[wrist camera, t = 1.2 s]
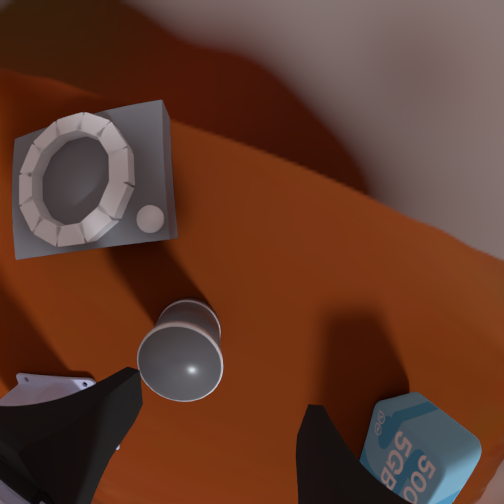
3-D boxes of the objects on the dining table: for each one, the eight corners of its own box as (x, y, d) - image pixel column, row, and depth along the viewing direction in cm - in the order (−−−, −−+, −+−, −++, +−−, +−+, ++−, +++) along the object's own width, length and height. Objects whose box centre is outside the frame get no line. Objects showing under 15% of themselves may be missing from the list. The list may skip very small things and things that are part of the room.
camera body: (40, 255, 19) (4, 261, 14) (37, 149, 18) (4, 134, 14) (177, 238, 20) (166, 239, 16) (169, 119, 20) (158, 90, 15)
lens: (165, 356, 21) (147, 403, 14) (155, 298, 21) (128, 328, 14) (224, 350, 21) (228, 398, 15) (216, 292, 21) (216, 320, 14)
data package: (375, 394, 24) (449, 467, 12) (412, 385, 24) (488, 444, 12) (353, 476, 24) (396, 545, 12) (386, 466, 25) (434, 527, 13)
